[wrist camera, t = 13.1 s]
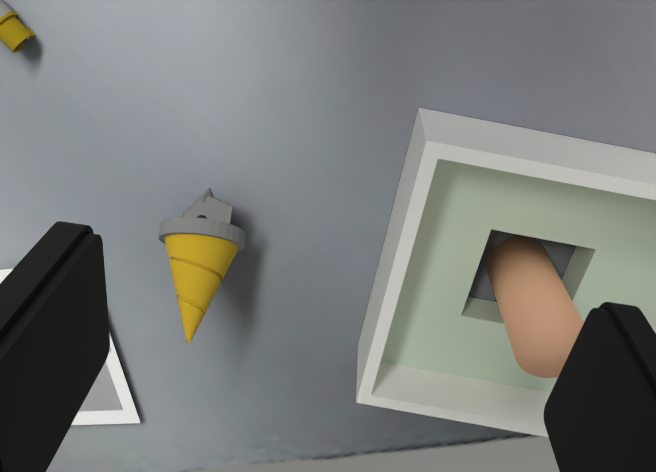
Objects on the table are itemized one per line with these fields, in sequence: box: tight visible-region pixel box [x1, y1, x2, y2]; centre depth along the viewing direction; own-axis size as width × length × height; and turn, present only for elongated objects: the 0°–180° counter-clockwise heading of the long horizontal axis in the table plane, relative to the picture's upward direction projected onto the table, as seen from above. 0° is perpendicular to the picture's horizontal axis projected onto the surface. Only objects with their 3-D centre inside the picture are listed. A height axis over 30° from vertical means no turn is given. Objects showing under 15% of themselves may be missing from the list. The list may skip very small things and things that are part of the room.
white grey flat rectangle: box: [0, 269, 140, 425], centre depth 45 cm, size 8×15×2 cm, turn 6°
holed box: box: [356, 107, 656, 438], centre depth 37 cm, size 18×18×6 cm
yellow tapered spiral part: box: [159, 188, 246, 343], centre depth 37 cm, size 5×5×10 cm
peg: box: [486, 237, 584, 378], centre depth 35 cm, size 4×4×9 cm
